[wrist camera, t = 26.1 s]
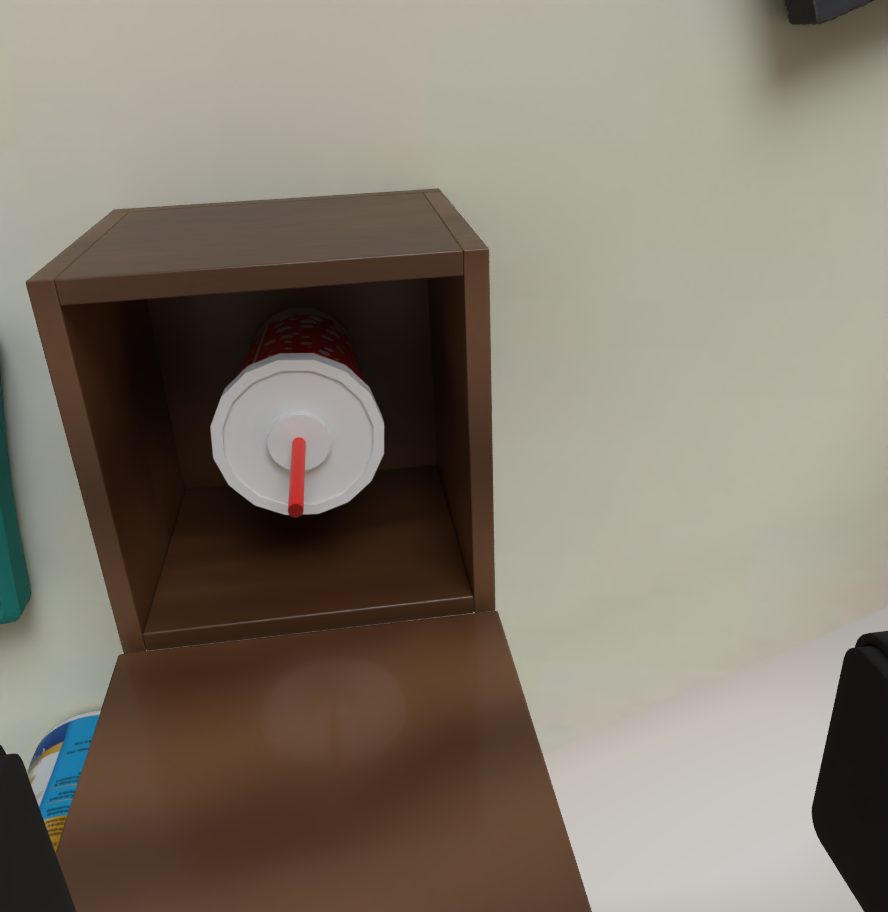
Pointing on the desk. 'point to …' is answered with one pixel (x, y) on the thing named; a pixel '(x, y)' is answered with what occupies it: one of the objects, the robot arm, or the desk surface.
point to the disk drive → (819, 10)
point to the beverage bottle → (60, 769)
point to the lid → (321, 779)
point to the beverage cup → (298, 418)
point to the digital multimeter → (10, 543)
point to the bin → (219, 362)
